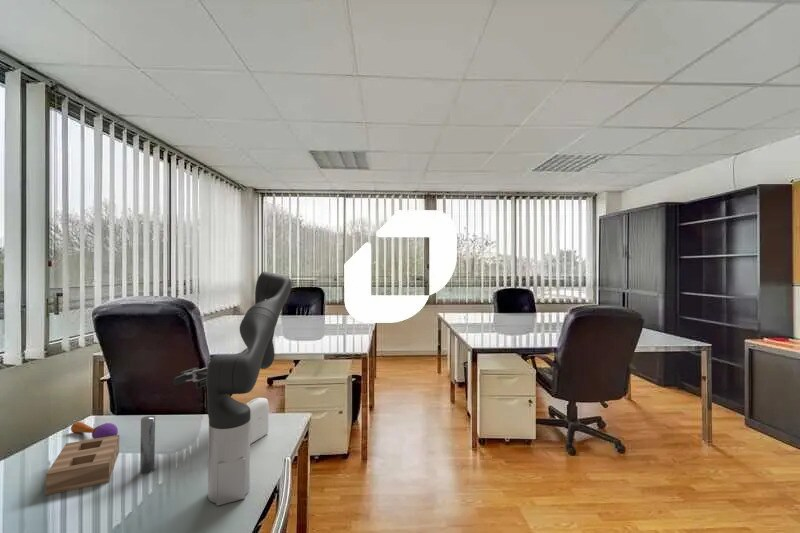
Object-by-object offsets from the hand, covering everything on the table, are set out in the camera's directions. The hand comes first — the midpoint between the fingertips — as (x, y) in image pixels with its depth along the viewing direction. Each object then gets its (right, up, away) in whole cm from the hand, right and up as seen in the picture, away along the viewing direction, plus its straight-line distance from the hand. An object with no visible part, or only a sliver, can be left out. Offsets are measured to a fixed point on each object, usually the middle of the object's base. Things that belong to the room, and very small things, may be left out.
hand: (185, 383), depth 114 cm
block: (-20, -20, -12) cm, 30 cm away
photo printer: (+17, -20, +9) cm, 28 cm away
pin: (-4, -20, -11) cm, 23 cm away
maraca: (-33, -20, +8) cm, 40 cm away
